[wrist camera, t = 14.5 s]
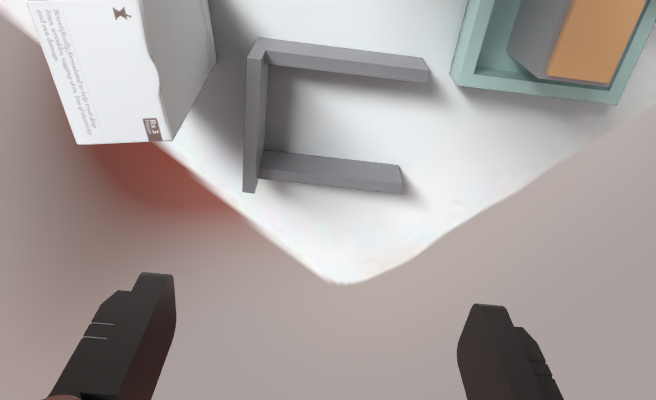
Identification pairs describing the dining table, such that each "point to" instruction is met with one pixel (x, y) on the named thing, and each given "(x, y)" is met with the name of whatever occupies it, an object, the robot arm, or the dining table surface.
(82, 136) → the skincare box
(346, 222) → the dining table surface
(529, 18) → the grey block tan panel
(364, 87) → the dining table surface
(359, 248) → the dining table surface
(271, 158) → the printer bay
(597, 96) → the tray
